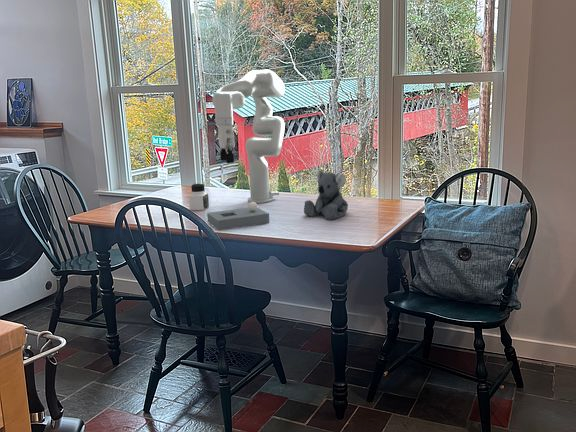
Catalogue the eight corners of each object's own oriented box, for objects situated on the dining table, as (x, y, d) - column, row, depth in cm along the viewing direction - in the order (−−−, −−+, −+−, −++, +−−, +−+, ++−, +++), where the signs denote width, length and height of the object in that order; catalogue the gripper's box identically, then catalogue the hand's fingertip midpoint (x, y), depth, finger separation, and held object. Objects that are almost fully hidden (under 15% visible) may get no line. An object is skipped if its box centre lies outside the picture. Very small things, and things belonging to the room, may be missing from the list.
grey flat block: (255, 215, 254) (255, 206, 253) (269, 222, 240) (268, 213, 239) (207, 222, 246) (207, 212, 245) (218, 230, 232) (218, 220, 231)
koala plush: (301, 216, 249) (299, 171, 245) (327, 208, 262) (325, 165, 257) (332, 221, 238) (331, 175, 233) (357, 213, 250) (357, 168, 246)
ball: (255, 209, 247) (255, 200, 246) (259, 211, 244) (258, 202, 243) (247, 210, 246) (246, 201, 245) (250, 212, 242) (249, 203, 241)
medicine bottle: (204, 210, 268) (202, 185, 265) (189, 210, 270) (187, 185, 267) (209, 207, 275) (207, 182, 272) (195, 207, 277) (193, 182, 274)
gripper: (238, 122, 239) (241, 163, 243) (227, 120, 255) (230, 158, 259) (221, 123, 237) (223, 164, 240) (211, 121, 252) (214, 160, 256)
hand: (227, 161), depth 250 cm, fingers open, 9 cm apart
